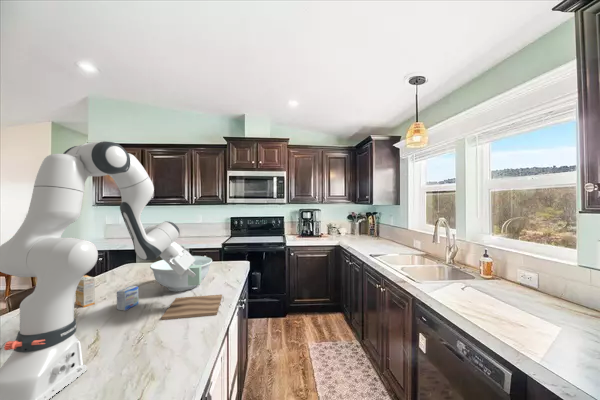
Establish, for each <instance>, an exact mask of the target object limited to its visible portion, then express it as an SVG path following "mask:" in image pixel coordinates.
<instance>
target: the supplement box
mask: <svg viewBox="0 0 600 400" xmlns="http://www.w3.org/2000/svg"><path fill="white" fill-rule="evenodd" d="M95 280H96V278H95V277H94V276H90V275H87V274H85V275H84V276H83V277H82V278H81V280H80V282H79V284H78V286H77V289H76V292H75V305H77V306H80V307H82V308H86V307H89V306H93V305H95V303H96V300H95V299H96V296H95V295H96V294H95V293H96V291H95V287H96V285H95V284H96V283H95V282H96V281H95Z"/></svg>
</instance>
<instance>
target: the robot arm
mask: <svg viewBox="0 0 600 400" xmlns="http://www.w3.org/2000/svg"><path fill="white" fill-rule="evenodd" d="M103 176H109V177H110V178H112V179H113V181H114V183H115V185H116V187H117V189H118V190H119V192H120V196H121V203H120V205H119V211H120V214H121V216H122V218H123V222H124V224H125V227H126V228H127V232H128V234H129V236H130V238H131V240H132V245H133V248H134V252H135V254H136V255H137V257H138V258H140V259H141V260H143V261H154V260H157V258H159V257H160V258H161V260H164V261H166V262H167V263H168V264H169V266H170V267H171V268H172V269H173V270H174V271H175V272H176V273H177V274H178V275H182V274H183V273H184V272H185V273H186V274H188V275H190V276H191V277H195V276H196V273H195V272H193V271H191V270H190V269H189V267H190V266H191V265H194V264H193V262H194V261H195V259H194V257H193V256H194V255H192V253H190V252H189V251H188V250H187V249H186V247H185V246H183V245H182V244H181V245H180V244H178V243H177V242H176V241H177V239H178V238H179V236H181V235H180V229H179V227H178V226H177V224H176V223H174V222H172V221H166V220H164V221H163V222H161V223H159V224H150V225H149V226H147V227H146V228H144V224H143V223H142V221H141V216H142V213H143V211H144V208H146V206H147V204H149V202H150V201H151V199H152V197H153V195H154V192H155V191H154V190H155V186H154V184H153V181H152V179H151V178H150V175H149V174H148V172H147V171H146V169H145V167H144V166H143V165H142V163H141V162H140V160H138V158H137V157H136V156H135V155H133V154H132V153H130V152H129V153H128V151H127V150H126V149H125V148H124V147H123V146H122V145H120V144H119V143H117V142H113V141H105V140H104V141H100V142H88V143H83V144H79V145H74V146H72V147H69V148H68V149H66V150H65V151H64V152H63V153H52V154H49V155H47V156H45V158H43V160H42V162H41V164H40V166H39V168H38V172H37V174H36V175H35V177H36V178H35V180H34V184H33V189H32V193H31V199H30V203H29V206H28V210H27V214H26V215H25V218H24V220H23V221H22V223H21V225H20V227H19V228H18V229H17V231H16V232H15V234H13V236H12V237H11V238H10V239H8V240H7V241H5V242H4V243H3V244H1V245H0V272H1V273H3V274H5V275H10V276H15V277H20V278H37V281H36V286H35V288H34V290H33V292H32V293H31V294H29V295H27V296H26V297H25V298H24V299H23V300H22V301H21V302H20V304H19V331H18V332H17V334H16V337H15V339H14V340H9V341H6V342H5V344H4V345H3V350H5V351H10V350H13V351H12V353H11V354H10V355H9V357H8V358H7V359H6V360H5V362H4V363H3V365H2V366H1V368H0V400H47V399H49V398H50V397H52V396H53V395H54V394H56V393H57V392H58V391H60V390H61V389H62V388H64V387H65V386H67V385H68V384H69V385H70V384H72V383H73V382H74V381H75V380H77V379H78V378H79V377H80V376H82V375H83V374H84V373H85V371H86V370H88V365H86V364H85V363H83V355H82V354H83V353H82V343H81V341H80V340H79V338H77V335H76V334H75V333H76V332H77V319H76V318H75V300H76V289H77V286H78V284H79V282H80V280H81V278H82V277H83V276H85V275H87V273H89V272H90V271H91V270H92V269H93V268H94V267H95V266H96V264H97V261H98V258H99V252H98V248H97V246H96V244H94V242H92V241H89V240H86V239H82V238H77V237H62V236H63V234H64V232H65V230H66V229H67V228H68V227H69V225H71V224H73V223H75V222H77V220H78V219H79V218H80V217H81V211H82V206H83V199H84V195H85V194H84V193H85V187H86V185H85V183H86V181H87V179H88V178H89V177H103ZM86 372H87V371H86ZM82 373H83V374H82ZM81 374H82V375H81ZM77 377H78V378H77ZM76 378H77V379H76ZM71 382H72V383H71ZM69 385H68V386H69ZM68 386H67V387H68ZM65 388H66V387H65ZM65 388H64V389H65ZM60 392H61V391H60ZM56 395H57V394H56Z"/></svg>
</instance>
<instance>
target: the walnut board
mask: <svg viewBox="0 0 600 400" xmlns="http://www.w3.org/2000/svg"><path fill="white" fill-rule="evenodd" d="M222 298H223V294H210V295H196V296H185V297H184V296H181V297H175V299H174V300H173V301H172V303H171V304H170V305H169V306H168V308H167V309H166V311H165V312H164V313H163V314H162V315H161V321H167V320H177V319H178V318H179V319H189V318H200V317H211V316H217V315H218V313H219V309H220V305H221V302H222Z"/></svg>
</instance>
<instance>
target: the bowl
mask: <svg viewBox="0 0 600 400" xmlns="http://www.w3.org/2000/svg"><path fill="white" fill-rule="evenodd" d="M192 256H193V257H194V259H195V261H194V262H193V264H194V265H201V282H202V281H203V280H204V279H206V277H207V275H208V273H209V270H210V265H211V264H212V262H213V259H212V258H211V257H208V256H205V255H204V256H203V255H202V256H201V255H192ZM149 269H150V270H152V274H153V277H154V279H155V281H156V282H157V283H158V284H160V285H161V286H162V287H166V288H167V290H168V291H169V292H170V291H171V292H184V291H189V290H192V289H194V288H196V287H197V286H198V285H192V286H188V274H186V273H185V272H184V273H183V274H182V275H178V274H177V273H176V272H175V271H174V270H173V269H172V268H171V267H170V266H169V264H168V263H167V262H166V261H164V260H163V259H161V260H158V261H154V262H153V263H151V264H150V265H149Z"/></svg>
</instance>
